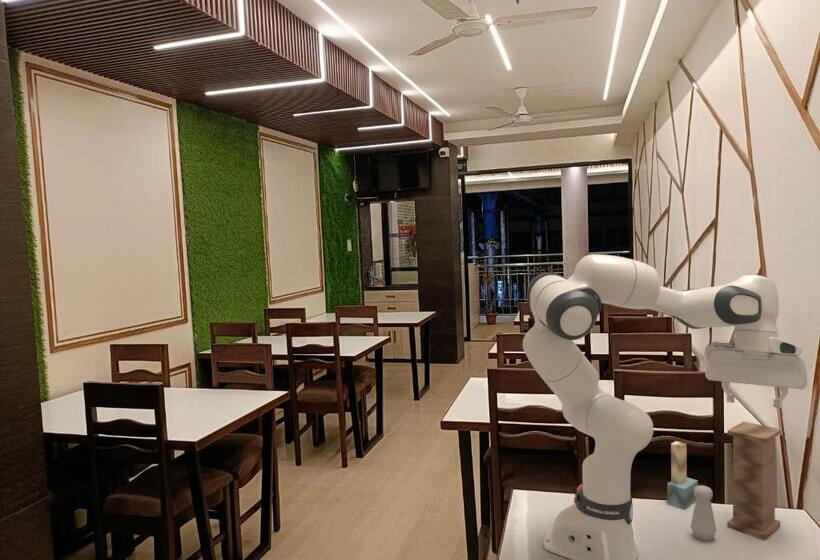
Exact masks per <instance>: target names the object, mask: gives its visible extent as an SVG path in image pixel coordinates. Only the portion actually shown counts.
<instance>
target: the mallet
mask: <svg viewBox="0 0 820 560" xmlns="http://www.w3.org/2000/svg"><path fill="white" fill-rule="evenodd" d="M687 452H688V451H687V443H686V442H681V441H677V440H675V441H674V442H672V443H670V457H671V458H670V467H671V469H670V470H671V471H670V472H671V473H670V474H671V476H670V477H671V478H670V479H671V481H669V482H667V484H666V485H667V487H666V488H667V489H666V490H667V491H666V494H667V495H666V497H667V498H666V500H667V501H666V502H667V503H668V504H667V505H669V506H672V507H675V508H678V509H682V510H684V511H685V510H688V509H689V508H690V507H691V506H693V505H695V503H696V497H695V495H694V488H695V487H696V486H699V483H698V481H699V480H697V479H693V478H692V477H691V478H690V477H688V475H687V473H688V472H687V470H688V469H687V468H688V467H687V465H688V464H687V458H688V457H687V454H688V453H687Z"/></svg>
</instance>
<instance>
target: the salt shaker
mask: <svg viewBox="0 0 820 560" xmlns="http://www.w3.org/2000/svg"><path fill="white" fill-rule="evenodd" d="M713 494H714V493H713V490H712V489H711V487H709V486H706V485H700V484H698V486H696V487H695V488H694V495H695V497H696V502H695V503H694V509H693V512H692V517H691V520H690V521H691V522H690V530H691V531H692V533H693V536H694V537H695V539H698V540H699V541H702V542H710V541H712V540H713V538H714V537H715V534H716V532H717V527H716V522H715V516H714V512H713V506H712V501H711V500H712V498H713V496H714V495H713Z"/></svg>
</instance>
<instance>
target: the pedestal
mask: <svg viewBox="0 0 820 560" xmlns="http://www.w3.org/2000/svg"><path fill="white" fill-rule="evenodd" d="M726 434H727V435H729V436H732V441H733V442H732V451H733V452H732V490H733V491H732V518H730V519H729V520H728V521H727V524H726V525H727V528H728V529H731V530H733V531H736V532H738V533H742V534H744V535H745V534H746V535H748V536H751V537H754V538H756V539H759V540H763V541H765V542H766V541H767V540H768V539H769V538H770V537H771V536H772V535H773V534H774V533H776V532H777V531H778V530H779V529H780V527H781V521H780V520H778V519H776V508H775V507H776V499H775V498H776V437H778V436H779V435H781V434H782V429H781V428H777V427H772V426H767V425H763V424H757V423H754V422H748V421H742V422H740V423H738V424H736V425H735V426H733V427H731V428H729V429H727V432H726Z"/></svg>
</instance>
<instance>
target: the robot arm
mask: <svg viewBox="0 0 820 560" xmlns="http://www.w3.org/2000/svg"><path fill="white" fill-rule="evenodd" d="M526 294H527V296H526V298H527V304H528V310H529V318H530V319H531V320H533V321H534V324H533V326H532V327H531V328H530V329H529V330H528V331H527V332H526V333H525V335H524V337H523V339H522V349H523V352H524V353H525V355H526V357H527V359H528V361H529V363H530V364H531V366H532V367H533V369H534V370H535V372H536V373H537V374H538V376H540V378H541V379H542V380H543V381H544V383H545V384H546V385H547V387H548V388H550V390H551V391H552V392H553V393H554V395H555V396H556V398H557V399H558V400H559V401H560V402H561V405H562V407H561V409H562V416H563V417H564V419H565V420H566V421H567V423H569V424H570V425H571V426H572V427H574V428H575V429H576V430H577V431H579V432H581V433H583V434H585V435H587V436H590V437H592V438H593V439H594V443H595V446H594V451H593V453H592V454H589V455H588V456H586V457H585V458H584V460H583V462H582V466H581V467H582V484H579V485H578V486H577V488H576V492H575V494H574V497H573V504H571V505H569V506H567V507H566V508H564V509H562V510H561V511H560V512H559V513H558V514H557V516H556V517H555V519H554V521H553V525H552V526H551V527H550V528H548V530H547V531H546V533H545V534H544V536H543V540H542V541H543V542H542V545H543V549H544V550H545V551H548V552H551V553H553V554H555V555H557V556H558V555H559V556H561V557H563V558H567V559H569V560H637V559H638V557H639V550H638V548H637V545H636V541H635V537H634V530H633V523H632V522H633V519H634V518H633V517H634V503H633V497H632V495H631V474H632V473H631V470H632V465H633V462H634V459H635V457H636V455H637V453H638V452H641V451H642V450H643V449H645V448H646V447H647V446H648V445H649V444H650V442H651V440H652V438H653V435H654V423H653V420H652V418H651V417H650V415H649V414H648V413H647V412H645V411H644V410H643V409H641V408H639V407H638V406H637V405H635V404H634V403H632V402H629V401H626V400H623V399H620V398H618V397H615V396H613V395H610V394H609V393H607V392H606V391H604V390H603V389H602V388H601V387H600V385H599V382H600V375H599V372H598V371H597V369H596V368H595V367H594V365H593V364H592V363H591V362H590V361H589V360H588V358H587V357H586V356H585V354H584V352H582V350H581V349H580V348H579V346H578V345H577V344H576V343H575V342H574V341H575V340H579V339H580V340H581V339H582V338H584V337H586V336H587V335H588V334H589V333H590V332H591V331H592V330H593V328H594V327H595V324H596V322H597V321H598V316H599V315H600V313H601V312H602V310H603V305H602V304H606V305H610V306H615V307H618V308H624V309H631V310H649V311H653V312H656V313H660V314H663V315H666V316H667V315H668V316H670V317H672V318H674V319H675V320H677V321H678V322H679V323H680V324H681V325H683V326H685V327H687V328H689V329H691V330H699V329H707V328H724V327H725V328H726V327H734V329H733V342H719V341H712V343H708V344H706V346H705V348H704V356H705V358H706V359H707V360H706V361H707V362H706V367H705V374H704V375H705V378H706V379H707V380H708V381H715V382H721V388H722V390H723V391H724V393H725V395H726V402H727V403H735V398H736V397H735V395H734V394H731V393H730V390H729V388H730V383H736V384H745V385H754V386H763V387H774V388H778V389H779V390H778V391H779V393H781V394H780V395H779V397H778V398H777V399H773V400H772V401H773V404H772V407H773V408H778V409H782V408H783V401H784V400H785V398H787V395H788V394H789V389H791V390H792V389H793V390H805V388H806V387H807V386H808V372H807V366H806V363H805V360H804V359H803V358H802V357H801V356H800V355H801V354H802V352H803V351H802V347H801V346H800V345H798V344H794V343H791V342H788V341H786V340H783V339H780V338H779V329H778V328H777V327H778V326H777V320H778V317H779V303H780V302H779V291H778V288H777V284H776V282H775V280H773V279H771V278H770V277H768V276H766V275H761V274H754V273H753V274H752V273H751V274H750V273H749V274H744V275H743V274H742V275H741V276H740V277H738V278H737V279H735V280H733V281H732V282H728V283H724V284H722V285H715V286H707V287H701V288H698V287H697V288H688V289H684V290H681V291H680V290H676V289H673V288H668V287H665V286H662V281H661V277H660V275H659V272H658V271H657V269H656V268H655V267H653V266H651V265H649V264H647V263H645V262H642V261H639V260H635V259H632V258H627V257H624V256H617V255H609V254H593V253H591V254H588V255H585V256H583V257H582V258H581V259H580V260H579V261H578V262H577V264H576V266H575V268H574V271H573V273H572V275H571V276H570V277H568V278H566V277H565V276H563V275H562V274H559V273H555V272H543V273H540V274H537V275H536V276H535V277H533V278H532V279H531V281H530V282H529V284H528V286H527V293H526Z"/></svg>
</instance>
